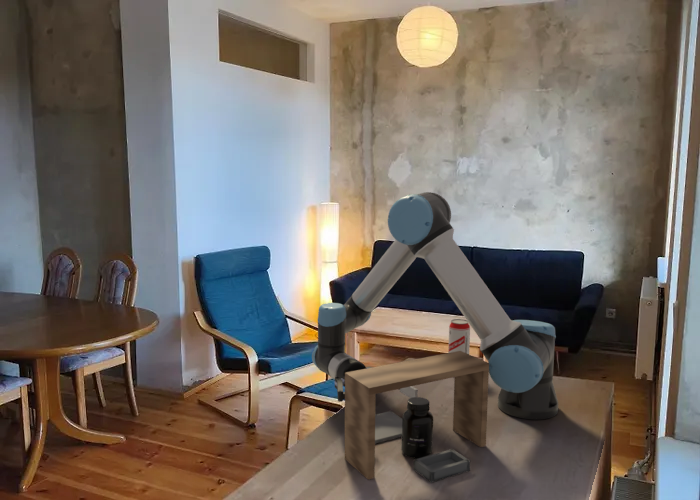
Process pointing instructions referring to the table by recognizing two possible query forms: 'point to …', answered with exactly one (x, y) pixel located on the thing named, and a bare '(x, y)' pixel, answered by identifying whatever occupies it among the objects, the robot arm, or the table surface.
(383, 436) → the coaster
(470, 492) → the table surface
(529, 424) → the table surface
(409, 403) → the supplement bottle
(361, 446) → the bridge
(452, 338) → the beer can
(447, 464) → the trap tray
